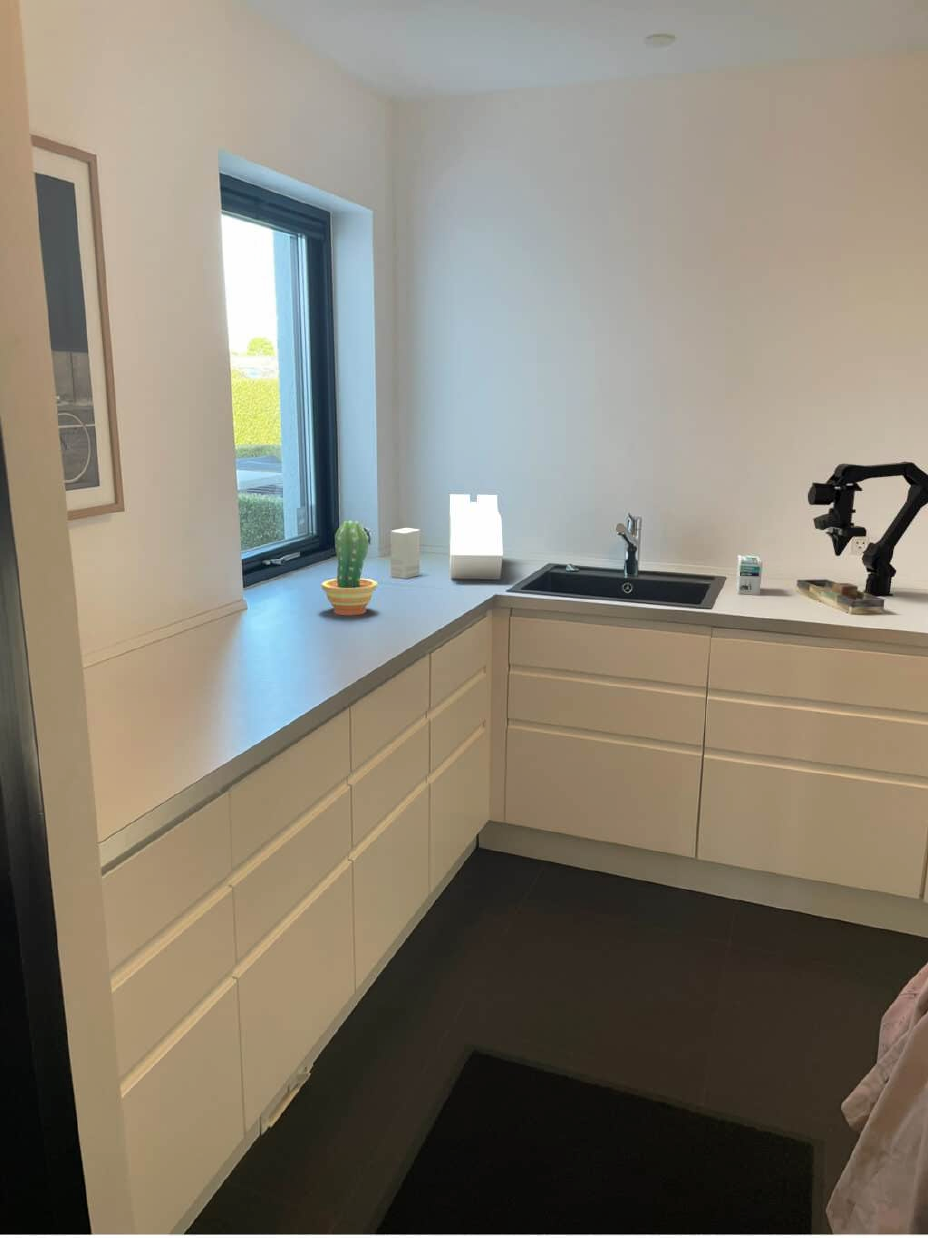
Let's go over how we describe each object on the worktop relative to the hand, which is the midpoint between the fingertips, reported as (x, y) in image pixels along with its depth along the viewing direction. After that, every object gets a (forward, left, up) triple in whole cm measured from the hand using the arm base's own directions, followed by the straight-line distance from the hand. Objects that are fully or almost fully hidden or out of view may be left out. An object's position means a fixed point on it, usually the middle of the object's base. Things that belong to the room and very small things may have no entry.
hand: (837, 555), depth 286 cm
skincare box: (+130, -41, -12) cm, 137 cm away
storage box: (+106, -46, -12) cm, 116 cm away
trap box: (+6, +12, -12) cm, 18 cm away
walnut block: (+6, +15, -10) cm, 19 cm away
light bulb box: (+26, -6, -12) cm, 29 cm away
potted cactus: (+151, +8, -12) cm, 152 cm away
